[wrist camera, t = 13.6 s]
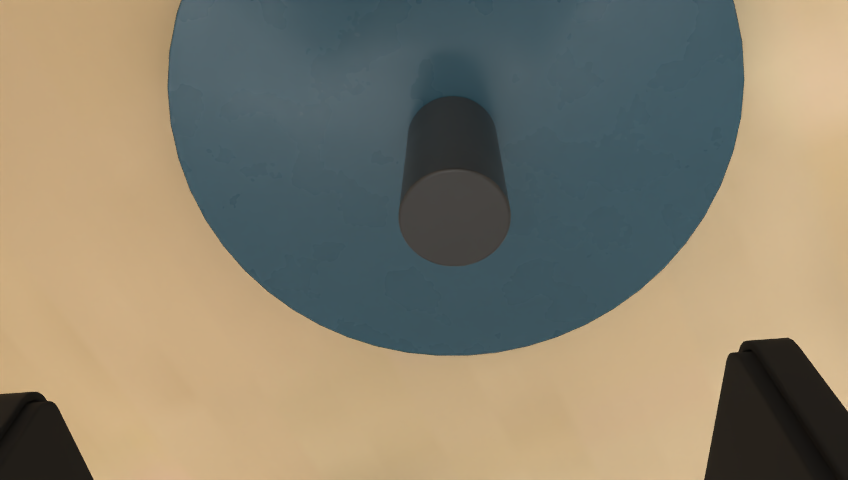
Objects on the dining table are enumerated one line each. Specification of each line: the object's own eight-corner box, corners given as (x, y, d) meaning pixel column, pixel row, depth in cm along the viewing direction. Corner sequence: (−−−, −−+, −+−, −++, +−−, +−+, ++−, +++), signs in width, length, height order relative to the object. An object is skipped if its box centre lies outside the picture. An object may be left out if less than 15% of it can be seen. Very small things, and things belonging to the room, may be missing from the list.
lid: (696, 324, 25) (765, 456, 19) (247, 348, 26) (196, 479, 20) (776, -231, 16) (937, -264, 11) (104, -160, 17) (-45, -160, 12)
